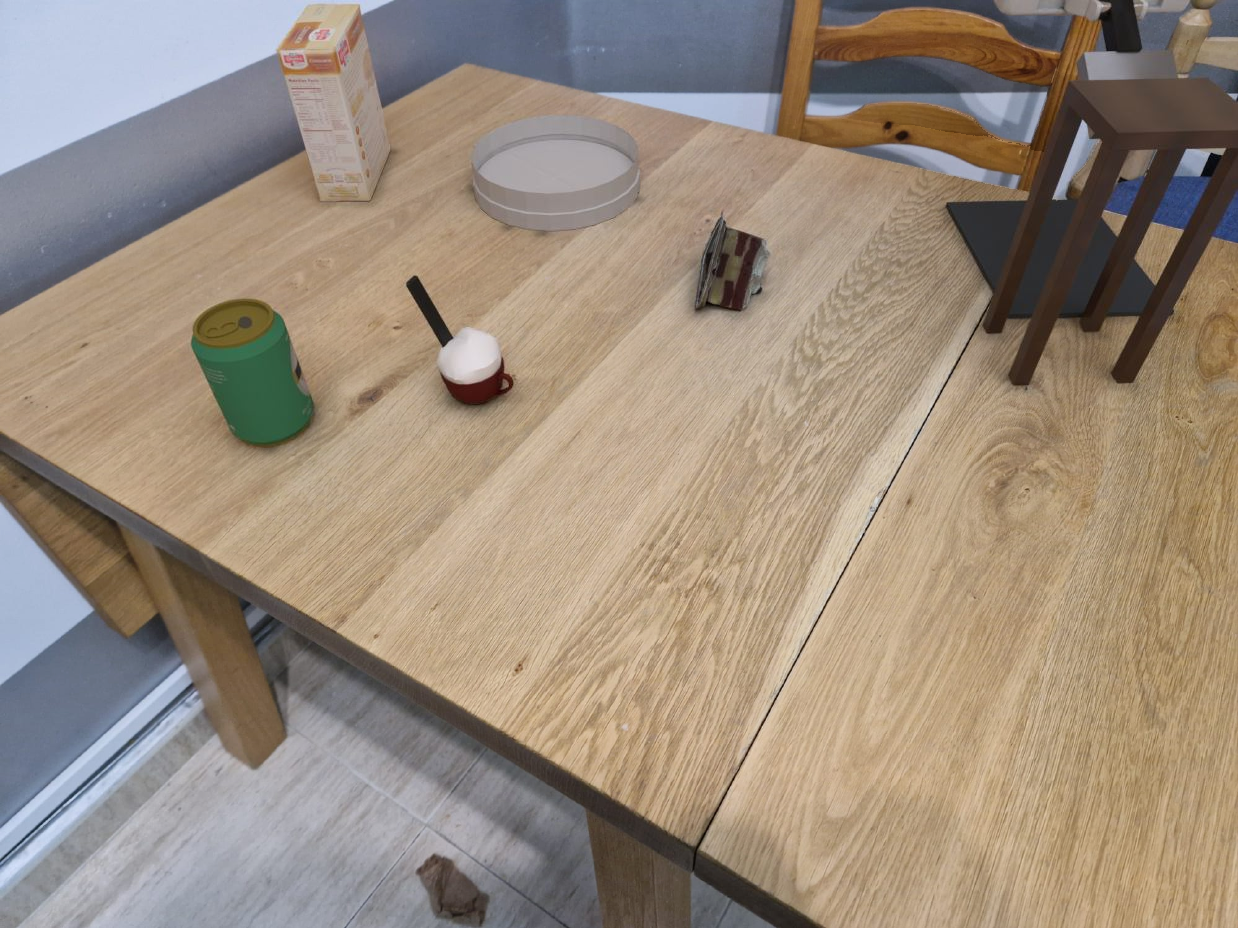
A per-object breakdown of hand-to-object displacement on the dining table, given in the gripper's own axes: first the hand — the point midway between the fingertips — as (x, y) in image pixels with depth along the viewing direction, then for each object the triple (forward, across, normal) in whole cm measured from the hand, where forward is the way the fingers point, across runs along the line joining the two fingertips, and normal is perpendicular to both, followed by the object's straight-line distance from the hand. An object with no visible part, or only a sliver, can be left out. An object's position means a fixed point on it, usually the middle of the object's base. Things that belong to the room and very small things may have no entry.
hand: (1120, 13), depth 88 cm
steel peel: (+3, 0, +4) cm, 5 cm away
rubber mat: (+6, -1, +25) cm, 26 cm away
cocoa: (+28, -67, +25) cm, 77 cm away
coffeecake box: (-17, -88, +25) cm, 93 cm away
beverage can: (+32, -86, +25) cm, 95 cm away
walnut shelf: (+24, -7, +25) cm, 35 cm away
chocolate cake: (+11, -39, +25) cm, 48 cm away
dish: (-13, -60, +25) cm, 66 cm away
